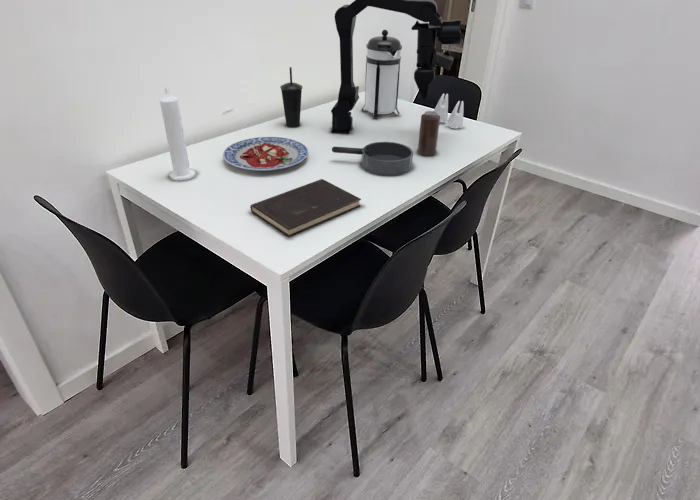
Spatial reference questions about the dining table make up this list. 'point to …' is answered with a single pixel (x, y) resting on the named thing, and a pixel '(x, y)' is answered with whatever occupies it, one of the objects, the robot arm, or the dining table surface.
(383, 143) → the pan
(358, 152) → the pan handle
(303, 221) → the hardcover book
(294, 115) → the drinking cup
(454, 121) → the shaker set
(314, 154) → the dining table surface
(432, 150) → the pepper mill
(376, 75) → the coffee press
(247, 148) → the ceramic plate
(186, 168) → the candle
